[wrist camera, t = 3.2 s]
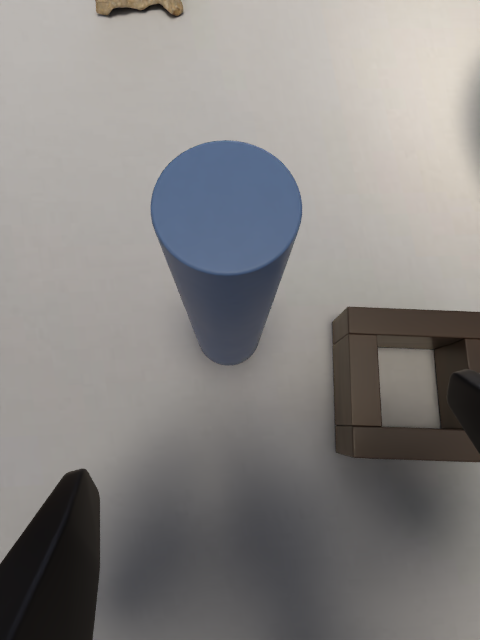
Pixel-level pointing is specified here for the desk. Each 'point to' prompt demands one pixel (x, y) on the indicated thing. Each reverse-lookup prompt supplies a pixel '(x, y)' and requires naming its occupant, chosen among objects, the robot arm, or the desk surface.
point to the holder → (364, 388)
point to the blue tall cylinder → (226, 239)
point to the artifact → (138, 5)
